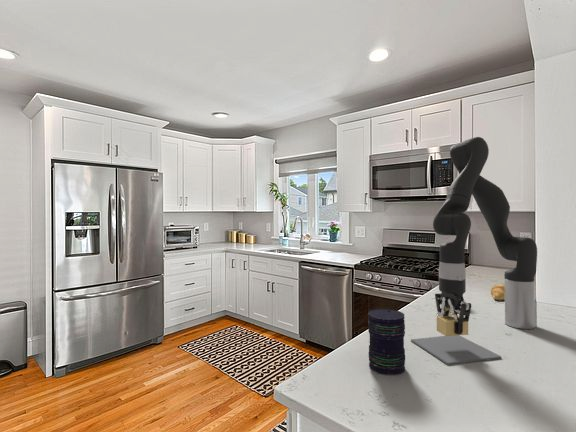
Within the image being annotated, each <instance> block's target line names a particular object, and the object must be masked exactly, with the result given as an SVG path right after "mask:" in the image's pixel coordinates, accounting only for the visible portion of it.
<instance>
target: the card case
mask: <svg viewBox="0 0 576 432" xmlns="http://www.w3.org/2000/svg"><path fill="white" fill-rule="evenodd" d="M436 317H437V316H436ZM458 318H459V315H458ZM454 322H455V319H454V315H453V316H438V317H437V318H436V331H437V332H438V333H440V334H441V335H442V336H456V335H460V336H468V335H469V321H468V322H463V332H462V334H455V332H454Z"/></svg>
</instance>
